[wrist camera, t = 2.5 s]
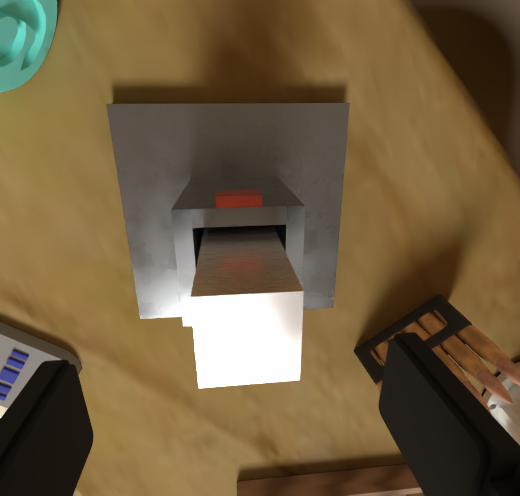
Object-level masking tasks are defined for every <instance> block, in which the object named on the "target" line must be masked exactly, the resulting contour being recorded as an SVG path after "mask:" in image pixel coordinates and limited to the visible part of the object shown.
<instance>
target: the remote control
mask: <svg viewBox="0 0 520 496" xmlns="http://www.w3.org/2000/svg"><path fill="white" fill-rule="evenodd" d="M52 360H68V361H69V363H70V364H74V365H75V366H76V369H77V373H78V375H79V373H80V371H81V369H82V367H81V365H80V362H79V360H78V359H77V358H76V357H75V356H74V355H73V354H72V353H71V352H70V351H68V350H65V349H63V348H61V347H58V346H56V345H54V344H51V343H49V342H47V341H44V340H42V339H39V338H37V337H35V336H32V335H30V334H28V333H25V332H23V331H20V330H18V329H16V328H13V327H11V326H9V325H6V324H4V323H2V322H0V406H3V407H6V408H9V407H10V405H11V404H12V403H13V401H14V400H15V398H16V397H17V396H18V394H19V393H20V392H21V390H22V389H23V387H24V386H25V385H26V383H27V382H28V381H29V379H30V378H31V376H32V375H33V374H34V372H35V371H36V370H37V368H38V367H39V365H40V364H41V363H42V362H44V361H52Z"/></svg>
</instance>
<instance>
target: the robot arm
mask: <svg viewBox="0 0 520 496" xmlns="http://www.w3.org/2000/svg"><path fill="white" fill-rule="evenodd" d="M516 365H517V366H518V367H519V368H520V361H519V362H518V363H516ZM496 378H497V379H498V380H499V381H500V382H501V383H502V385H503V386H504V387H505V388H506V390H507V391H508V393H509V394H510V396H511V398H512V401H513V404H508V403H506V402H504V401H502V400H501V399H499V398H498V397H496V396H495V395H493V394H492V393H491V392H490V391H488V390H486V392H485V393H484V395H483V399H484V400H485V402H486V403H487V405H488V407H489V409H490V412H491V413H490V412H489V411H488V410H487V409H486V408H485V407H484V406H483V405H482V404H481V403H480V402H479V400H478V399H477V398H476V397H475V396H474V395H473V394H472V393H471V392H470V391H469V390H468V388H467V387H466V386H465V385H464V384H463V383H462V382H461V381H460V380H459V379H458V378H457V377H456V375H455V374H454V373H453V372H452V371H451V370H450V369H449V368H448V367H447V366H446V365H445V363H444V362H443V361H442V360H441V359H440V358H439V357H438V356H437V355H436V354H435V353H434V351H433V350H432V349H431V348H430V347H429V346H428V345H427V344H426V343H425V342H424V341H423V340H422V338H421V337H420V336H419V335H418V334H417V333H415V332H408V333H397V334H395V335H394V337H393V339H390V340H389V343H388V349H387V355H386V362H385V368H384V374H383V380H382V386H381V393H380V399H379V411H380V414H381V416H382V418H383V420H384V422H385V424H386V426H387V428H388V429H389V431H390V433H391V435H392V437H393V439H394V440H395V442H396V444H397V446H398V448H399V450H400V451H401V453H402V455H403V457H404V459H405V461H406V462H407V464H408V466H409V468H410V470H411V472H412V473H413V475H414V477H415V479H416V481H417V483H418V484H419V486H420V488H421V490H422V492H423V494H424V495H425V496H520V386H519V385H518V384H516V383H514V382H513V381H512V380H510V379H509V378H507V377H506V376H505V375H504V374H503V373H501V374H500V375H499V376H497V377H496ZM516 441H517V442H518V443H517V442H516ZM92 443H93V430H92V426H91V422H90V419H89V415H88V411H87V407H86V403H85V400H84V396H83V392H82V388H81V384H80V380H79V377H78V373H77V369H76V366H75V365H74V364H70V363H69V361H68V360H52V361H44V362H42V363H41V364H40V365H39V367H38V368H37V370H36V371H35V372H34V374H33V375H32V376H31V378H30V379H29V381H28V382H27V383H26V385H25V386H24V387H23V389H22V390H21V392H20V393H19V394H18V396H17V397H16V398H15V400H14V401H13V403H12V404H11V405H10V407H9V408H8V409H7V411H6V412H5V414H4V415H3V416H2V418H0V496H73V493H74V491H75V488H76V486H77V483H78V480H79V478H80V475H81V473H82V470H83V468H84V465H85V462H86V460H87V457H88V455H89V452H90V450H91V447H92Z"/></svg>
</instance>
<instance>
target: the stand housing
mask: <svg viewBox="0 0 520 496" xmlns="http://www.w3.org/2000/svg"><path fill="white" fill-rule="evenodd" d="M107 111H108V117H109V123H110V130H111V136H112V142H113V149H114V155H115V161H116V168H117V174H118V180H119V187H120V193H121V199H122V206H123V212H124V218H125V225H126V231H127V237H128V244H129V250H130V256H131V262H132V269H133V275H134V281H135V288H136V294H137V300H138V307H139V313H140V319H148V318H165V317H182V319H183V326H193V321H192V311H191V300H190V296H191V291H192V286H193V281H194V276H195V271H196V266H197V261H198V256H199V251H200V247H201V242H202V237H203V232H204V227H231V226H258V225H273V226H274V228H275V230H276V233H277V235H278V237H279V239H280V241H281V243H282V245H283V248H284V250H285V252H286V254H287V256H288V258H289V261H290V263H291V265H292V267H293V269H294V271H295V273H296V276H297V278H298V280H299V282H300V284H301V286H302V288H303V291H304V296H303V309H316V308H333V303H334V291H335V278H336V266H337V253H338V240H339V228H340V215H341V203H342V190H343V177H344V165H345V152H346V140H347V127H348V115H349V103H205V104H107Z"/></svg>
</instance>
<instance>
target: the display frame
mask: <svg viewBox="0 0 520 496" xmlns="http://www.w3.org/2000/svg"><path fill="white" fill-rule="evenodd" d="M406 494H407V496H425V495H424V494H423V492H422V490H421V488H420V486H419V484H418V483H417V481H416V479H415V477H414V475H413V473H412V472H411V470H410V468H409V466H408V464H401V465H392V466H382V467H373V468H363V469H353V470H344V471H334V472H324V473H315V474H305V475H295V476H286V477H276V478H267V479H257V480H247V481H238V482H237V496H397V495H406Z"/></svg>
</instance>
